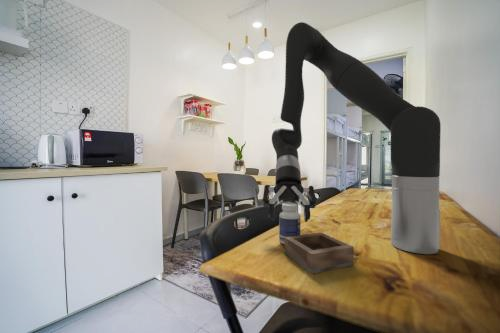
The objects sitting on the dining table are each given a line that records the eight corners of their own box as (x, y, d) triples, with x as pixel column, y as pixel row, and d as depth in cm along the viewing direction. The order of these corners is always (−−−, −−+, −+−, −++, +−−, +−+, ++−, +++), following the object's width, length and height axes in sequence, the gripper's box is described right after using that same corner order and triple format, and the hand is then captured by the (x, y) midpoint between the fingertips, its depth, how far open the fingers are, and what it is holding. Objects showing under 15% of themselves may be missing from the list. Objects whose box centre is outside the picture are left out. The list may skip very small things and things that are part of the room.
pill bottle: (302, 245, 56) (302, 206, 55) (280, 245, 56) (280, 206, 55) (298, 238, 61) (298, 202, 61) (278, 238, 61) (278, 202, 61)
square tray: (320, 247, 54) (320, 232, 54) (353, 264, 45) (353, 246, 45) (284, 253, 51) (284, 237, 51) (311, 273, 42) (311, 254, 41)
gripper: (264, 164, 68) (261, 210, 56) (313, 164, 66) (320, 212, 55) (265, 180, 73) (262, 225, 62) (310, 181, 71) (316, 228, 60)
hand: (289, 219), depth 58 cm, fingers open, 8 cm apart
